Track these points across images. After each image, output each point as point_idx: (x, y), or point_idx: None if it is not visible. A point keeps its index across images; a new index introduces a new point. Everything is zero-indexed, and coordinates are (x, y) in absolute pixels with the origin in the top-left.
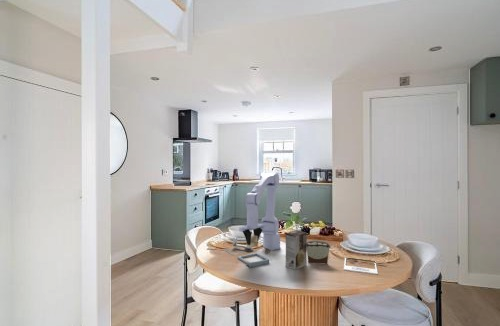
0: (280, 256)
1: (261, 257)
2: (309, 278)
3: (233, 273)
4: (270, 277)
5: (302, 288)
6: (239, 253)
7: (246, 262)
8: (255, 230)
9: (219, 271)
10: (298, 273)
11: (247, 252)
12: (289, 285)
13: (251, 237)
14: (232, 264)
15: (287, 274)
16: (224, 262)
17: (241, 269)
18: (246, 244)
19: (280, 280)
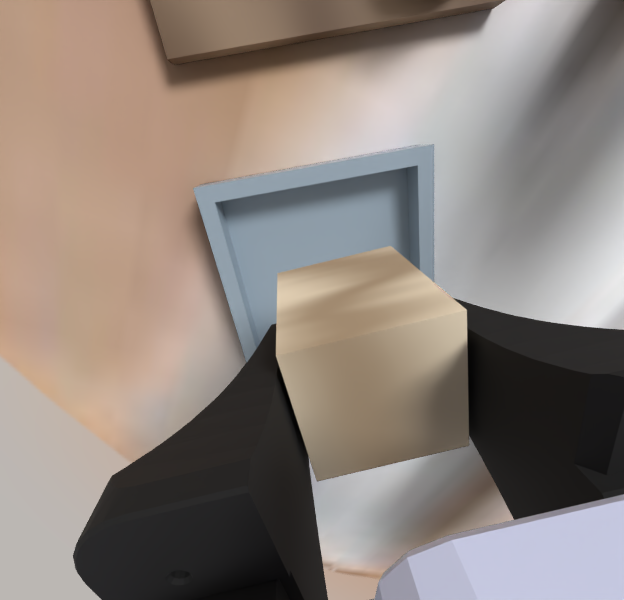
0: (595, 221)
1: (415, 256)
2: (466, 524)
3: (124, 410)
4: (315, 489)
5: (379, 573)
6: (263, 2)
7: (240, 340)
8: (558, 478)
9: (21, 361)
10: (465, 481)
11: (372, 5)
12: (350, 553)
13: (326, 473)
14: (137, 262)
15: (411, 480)
16: (62, 187)
17: (191, 370)
18: (277, 278)
19: (342, 518)
